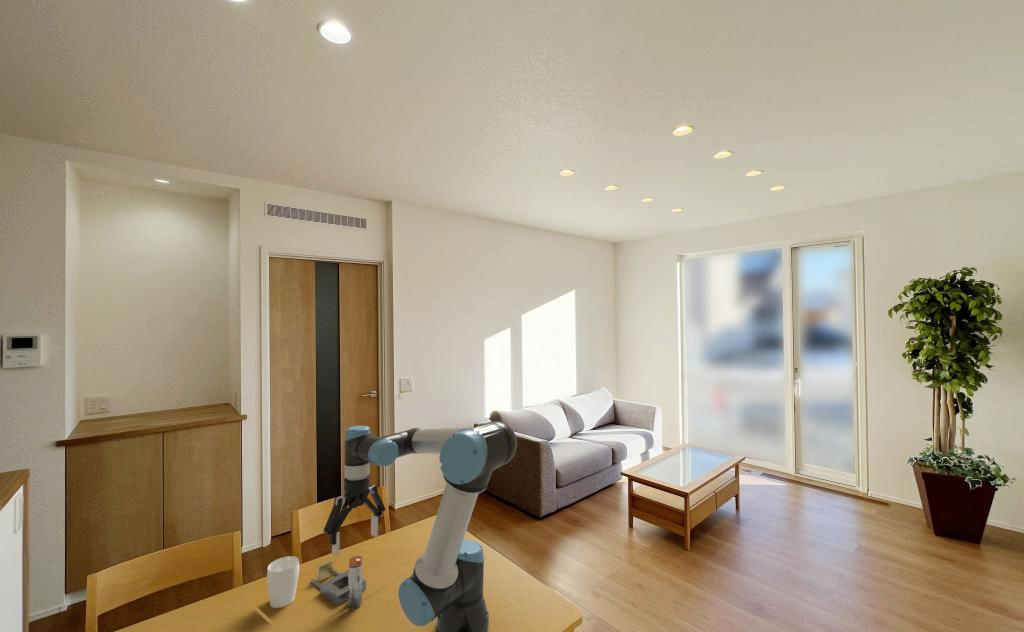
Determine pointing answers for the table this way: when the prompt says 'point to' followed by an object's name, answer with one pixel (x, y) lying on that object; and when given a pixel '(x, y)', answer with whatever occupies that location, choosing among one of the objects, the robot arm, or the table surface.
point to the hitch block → (336, 587)
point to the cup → (282, 581)
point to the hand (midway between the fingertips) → (355, 544)
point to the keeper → (324, 570)
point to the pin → (355, 582)
